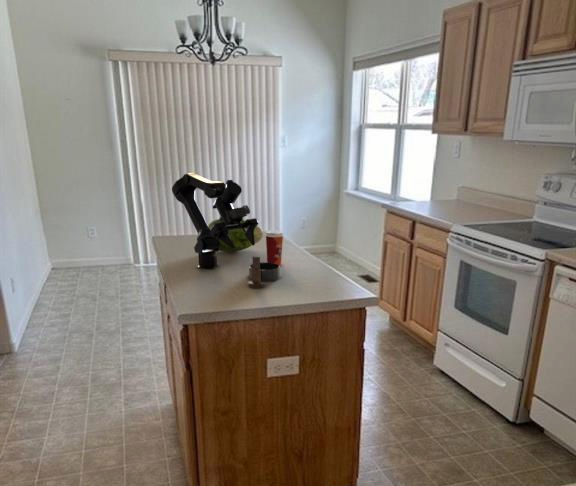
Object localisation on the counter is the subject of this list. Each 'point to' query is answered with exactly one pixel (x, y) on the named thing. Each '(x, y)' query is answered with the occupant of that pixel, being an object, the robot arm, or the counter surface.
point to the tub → (267, 271)
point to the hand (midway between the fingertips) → (244, 246)
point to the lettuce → (238, 238)
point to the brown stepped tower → (256, 274)
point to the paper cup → (274, 246)
